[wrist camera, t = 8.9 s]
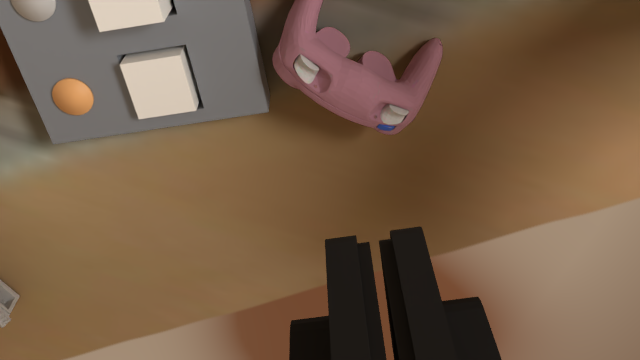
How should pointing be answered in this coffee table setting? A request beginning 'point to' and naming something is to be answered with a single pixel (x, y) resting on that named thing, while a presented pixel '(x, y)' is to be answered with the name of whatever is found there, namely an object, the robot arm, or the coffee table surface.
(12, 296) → the garden wall model
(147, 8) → the button middle
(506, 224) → the coffee table surface
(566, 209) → the coffee table surface
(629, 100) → the coffee table surface
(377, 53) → the pink curved piece
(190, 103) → the button
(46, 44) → the button board
